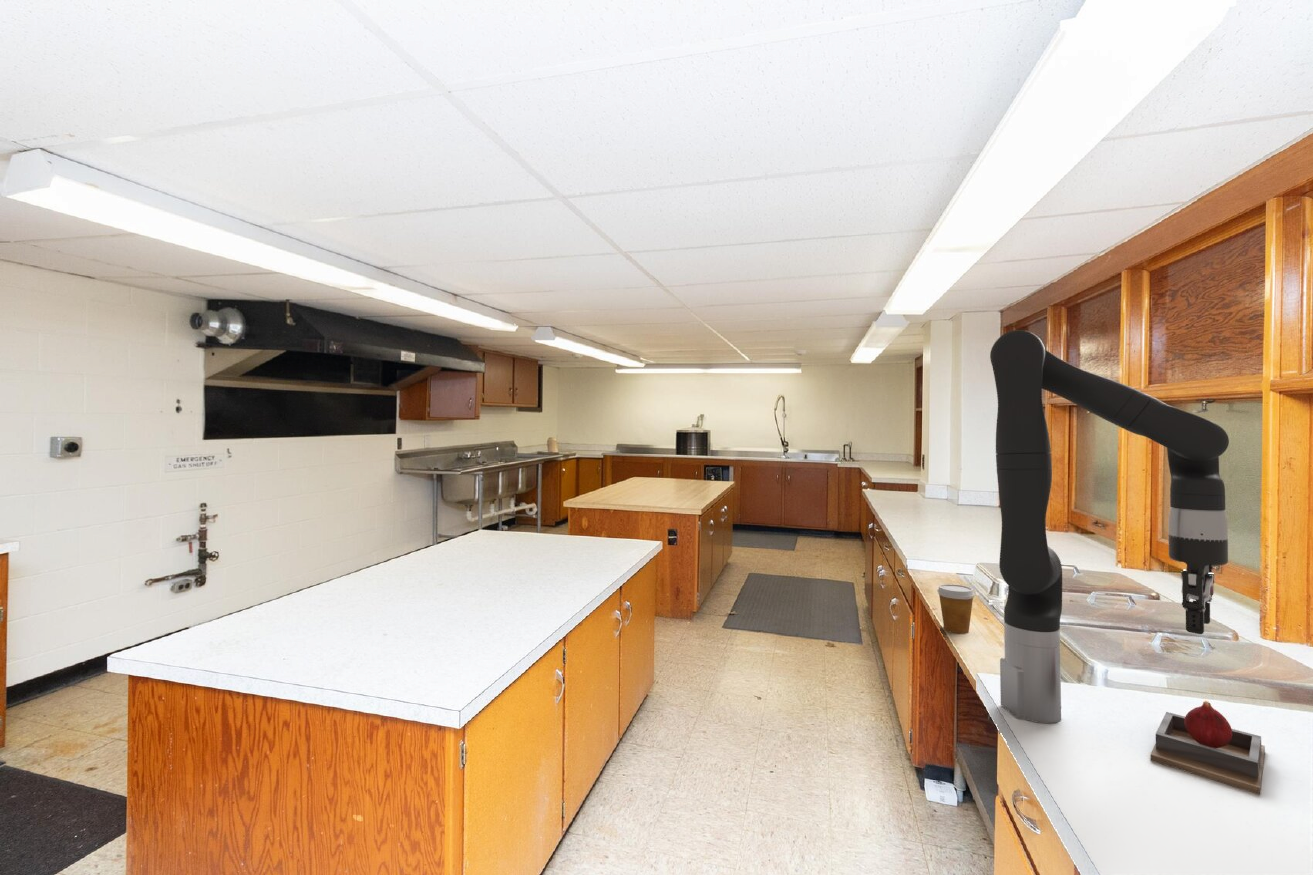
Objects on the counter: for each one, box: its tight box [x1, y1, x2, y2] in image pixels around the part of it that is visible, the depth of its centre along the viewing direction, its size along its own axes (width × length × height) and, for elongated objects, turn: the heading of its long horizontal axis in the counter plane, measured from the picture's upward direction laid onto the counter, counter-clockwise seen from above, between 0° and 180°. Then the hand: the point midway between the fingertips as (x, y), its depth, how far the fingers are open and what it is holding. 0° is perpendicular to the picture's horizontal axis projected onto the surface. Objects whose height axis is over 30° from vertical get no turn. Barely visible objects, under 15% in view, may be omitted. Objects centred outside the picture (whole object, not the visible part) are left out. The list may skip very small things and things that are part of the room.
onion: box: [1184, 700, 1233, 748], centre depth 97 cm, size 6×6×8 cm
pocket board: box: [1149, 711, 1266, 795], centre depth 97 cm, size 18×13×4 cm
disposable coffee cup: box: [936, 583, 976, 634], centre depth 163 cm, size 10×10×12 cm
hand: (1198, 627), depth 99 cm, fingers open, 8 cm apart
